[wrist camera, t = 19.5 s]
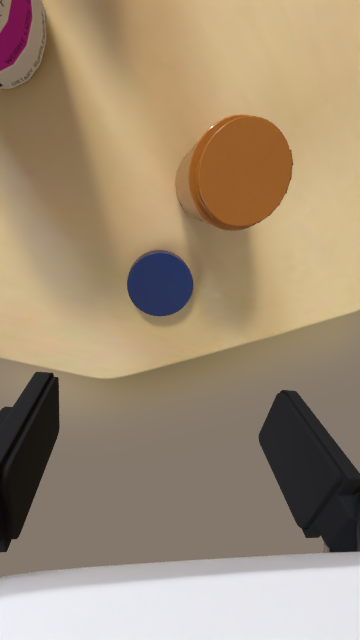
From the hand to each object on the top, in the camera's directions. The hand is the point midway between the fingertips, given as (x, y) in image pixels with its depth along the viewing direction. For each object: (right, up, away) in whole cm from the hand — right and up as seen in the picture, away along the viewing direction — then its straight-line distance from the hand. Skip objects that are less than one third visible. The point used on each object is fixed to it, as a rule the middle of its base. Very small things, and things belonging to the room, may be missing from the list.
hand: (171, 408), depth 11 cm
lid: (-2, +7, +15) cm, 17 cm away
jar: (+3, +16, +13) cm, 21 cm away
